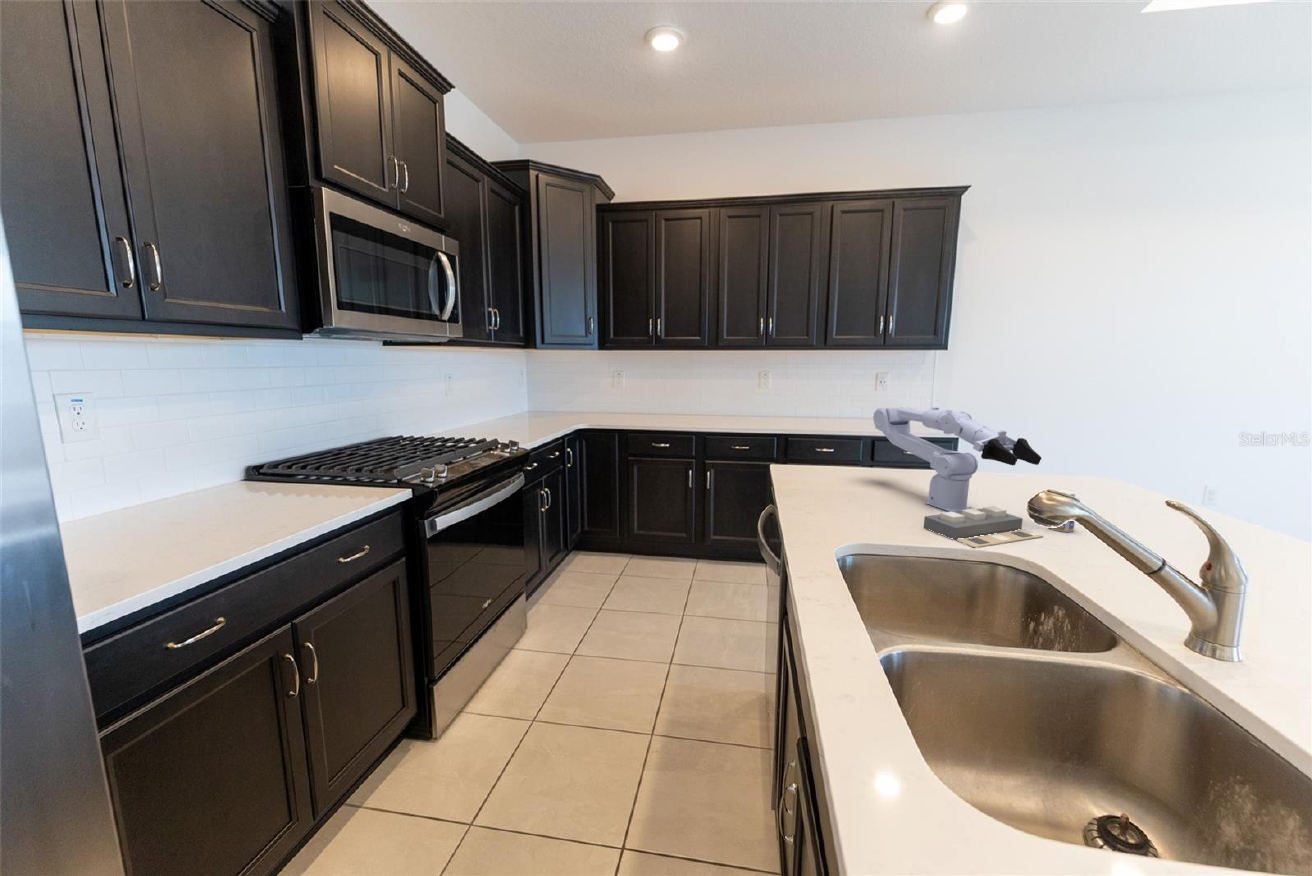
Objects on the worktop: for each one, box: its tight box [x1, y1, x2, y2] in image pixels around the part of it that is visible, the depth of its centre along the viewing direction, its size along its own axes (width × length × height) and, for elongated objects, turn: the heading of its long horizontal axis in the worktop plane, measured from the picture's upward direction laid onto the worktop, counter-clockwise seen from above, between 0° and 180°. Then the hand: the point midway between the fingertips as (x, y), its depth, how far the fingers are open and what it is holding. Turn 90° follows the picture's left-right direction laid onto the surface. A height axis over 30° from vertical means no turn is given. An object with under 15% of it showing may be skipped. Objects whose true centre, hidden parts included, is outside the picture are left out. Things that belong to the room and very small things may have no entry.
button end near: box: [940, 511, 965, 524], centre depth 128 cm, size 4×4×3 cm
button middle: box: [962, 508, 986, 521], centre depth 131 cm, size 4×4×3 cm
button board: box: [923, 508, 1024, 540], centre depth 131 cm, size 9×22×3 cm, turn 109°
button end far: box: [982, 506, 1007, 518], centre depth 133 cm, size 4×4×3 cm
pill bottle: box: [1050, 489, 1076, 533], centre depth 131 cm, size 5×5×10 cm
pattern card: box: [956, 529, 1044, 548], centre depth 124 cm, size 5×22×1 cm, turn 109°
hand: (1027, 461), depth 126 cm, fingers open, 7 cm apart
